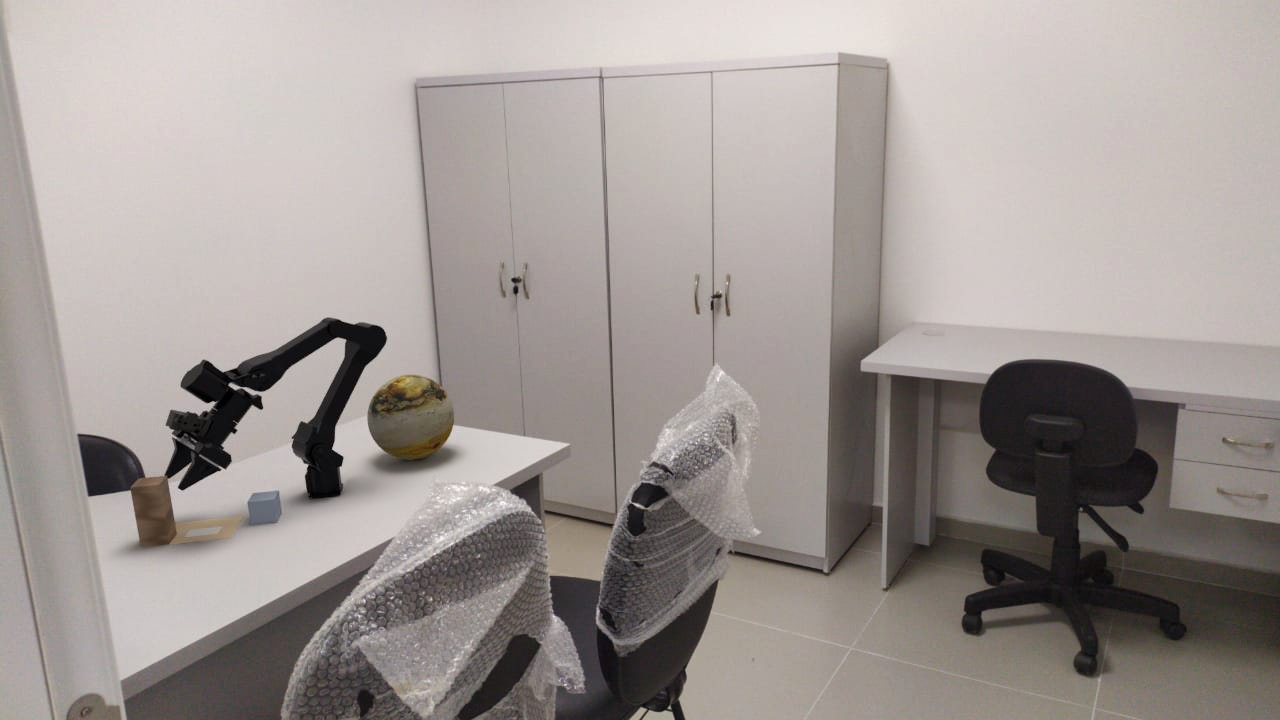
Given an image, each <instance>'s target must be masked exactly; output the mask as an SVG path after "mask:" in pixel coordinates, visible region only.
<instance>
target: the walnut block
mask: <svg viewBox="0 0 1280 720" xmlns="http://www.w3.org/2000/svg"><path fill="white" fill-rule="evenodd" d="M130 494H131V499H132V500H131V501H132V506H133V512H134V517H135V522H136V528H137V534H138V539H139V540H138V541H139V546H140V548H141V547H143V548H151V547H150V546H152V547H160V546H159V545H161V546H169V545H168V544H170V543H171V541H172V540H173V539H174V537H175V536H176V534H177V532H176V526H175V523H176V520H175V515H174V509H173V503H172V497H171V491H170V485H169V479H168V478H167V476H164V475H162V476H160V475H159V476H152V477H151V476H149V477H141V478H140V477H139V478H138V479H137V480H136V481H135V482H134V483H133V484H132V485H131V486H130ZM170 545H171V544H170Z"/></svg>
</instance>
